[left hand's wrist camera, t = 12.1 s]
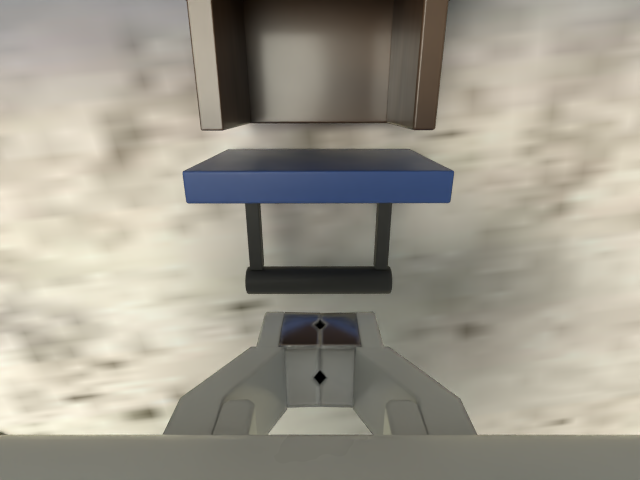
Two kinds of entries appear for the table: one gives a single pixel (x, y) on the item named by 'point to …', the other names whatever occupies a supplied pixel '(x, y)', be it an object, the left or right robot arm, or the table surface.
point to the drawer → (318, 116)
